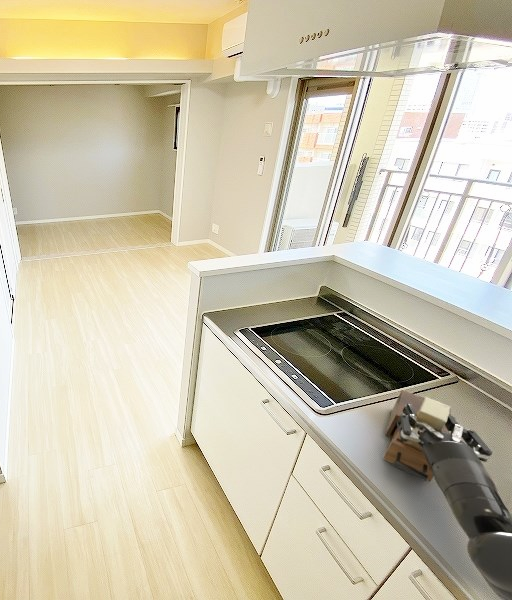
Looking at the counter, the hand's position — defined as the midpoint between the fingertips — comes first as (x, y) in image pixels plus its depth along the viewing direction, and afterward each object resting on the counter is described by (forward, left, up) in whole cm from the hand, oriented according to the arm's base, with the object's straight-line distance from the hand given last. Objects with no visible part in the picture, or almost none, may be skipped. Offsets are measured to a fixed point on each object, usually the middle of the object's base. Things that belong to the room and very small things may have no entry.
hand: (426, 411), depth 74 cm
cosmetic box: (-1, +2, -9) cm, 10 cm away
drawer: (-1, +4, -12) cm, 13 cm away
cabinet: (-1, -8, -13) cm, 15 cm away
